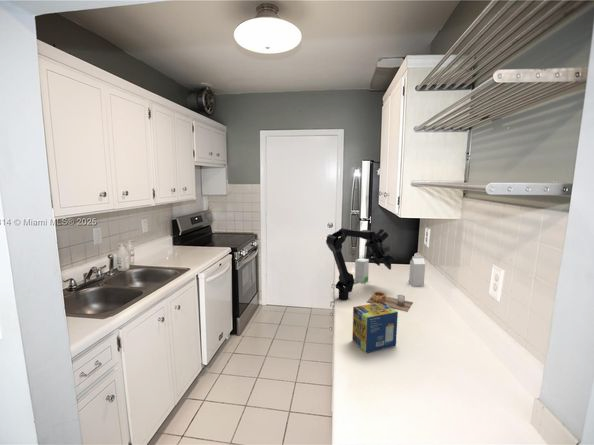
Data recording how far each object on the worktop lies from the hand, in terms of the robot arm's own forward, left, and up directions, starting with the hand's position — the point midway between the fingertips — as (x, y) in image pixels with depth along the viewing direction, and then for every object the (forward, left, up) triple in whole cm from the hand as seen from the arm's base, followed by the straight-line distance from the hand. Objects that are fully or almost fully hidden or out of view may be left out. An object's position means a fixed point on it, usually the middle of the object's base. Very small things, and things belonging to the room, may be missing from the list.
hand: (384, 267), depth 183 cm
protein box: (-61, -14, -15) cm, 65 cm away
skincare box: (+7, +17, -15) cm, 24 cm away
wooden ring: (-19, -3, -13) cm, 24 cm away
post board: (-19, -9, -15) cm, 26 cm away
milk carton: (+22, -15, -15) cm, 30 cm away
